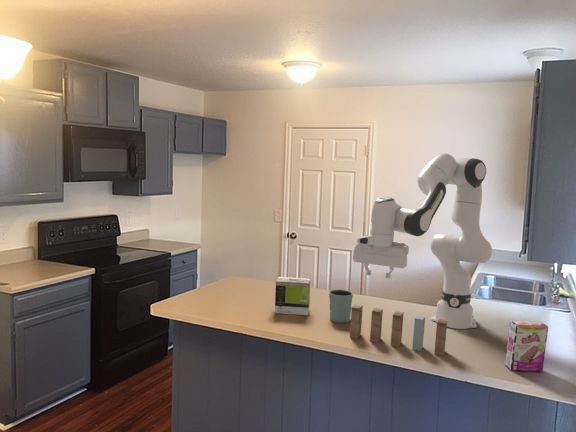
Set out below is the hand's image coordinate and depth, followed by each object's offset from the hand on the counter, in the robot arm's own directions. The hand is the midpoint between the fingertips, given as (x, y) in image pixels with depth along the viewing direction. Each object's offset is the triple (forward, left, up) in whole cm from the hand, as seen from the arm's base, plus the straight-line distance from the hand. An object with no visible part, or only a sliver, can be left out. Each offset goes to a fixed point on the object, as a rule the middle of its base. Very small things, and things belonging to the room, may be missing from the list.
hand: (378, 276), depth 186 cm
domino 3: (-1, +9, -25) cm, 26 cm away
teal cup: (-17, -19, -25) cm, 36 cm away
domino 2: (-1, +1, -25) cm, 25 cm away
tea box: (-16, -41, -25) cm, 51 cm away
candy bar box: (-1, +53, -25) cm, 58 cm away
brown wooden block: (-1, +25, -25) cm, 35 cm away
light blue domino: (-1, +17, -25) cm, 30 cm away
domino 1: (-1, -7, -25) cm, 26 cm away
